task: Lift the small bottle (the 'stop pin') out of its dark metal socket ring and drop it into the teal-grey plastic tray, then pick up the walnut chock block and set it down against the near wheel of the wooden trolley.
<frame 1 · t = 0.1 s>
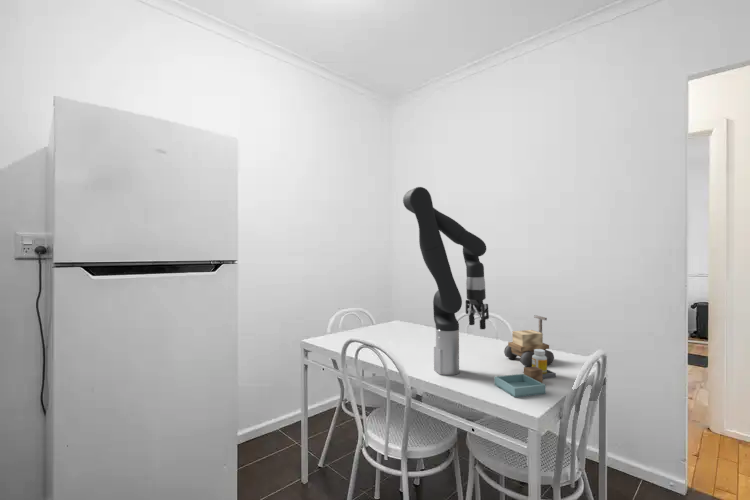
hand: (477, 327, 155), 17 cm above the table, tool pointing down, fingers open, 8 cm apart
supplement bottle: (539, 375, 147), resting in pin socket
chock: (533, 382, 139), on the table
tray: (519, 389, 132), on the table
trolley: (528, 361, 164), on the table
pin socket: (539, 374, 147), on the table
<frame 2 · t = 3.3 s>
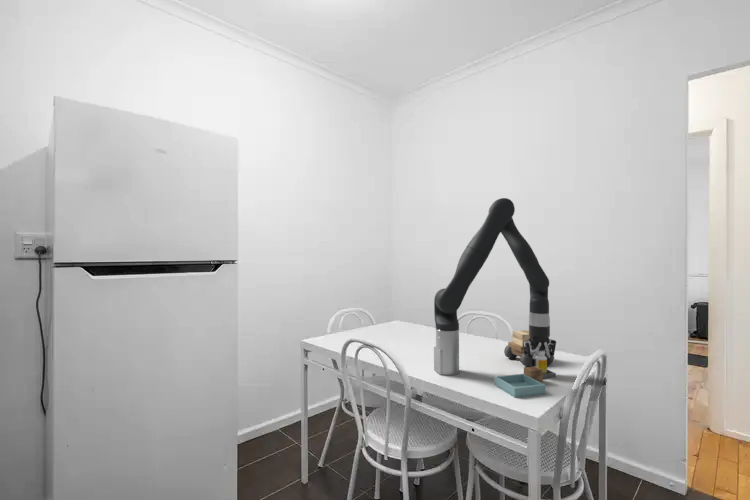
hand: (539, 366, 147), 3 cm above the table, tool pointing down, fingers closed on supplement bottle, 5 cm apart
supplement bottle: (539, 375, 147), resting in pin socket, touching gripper
everything else where it was.
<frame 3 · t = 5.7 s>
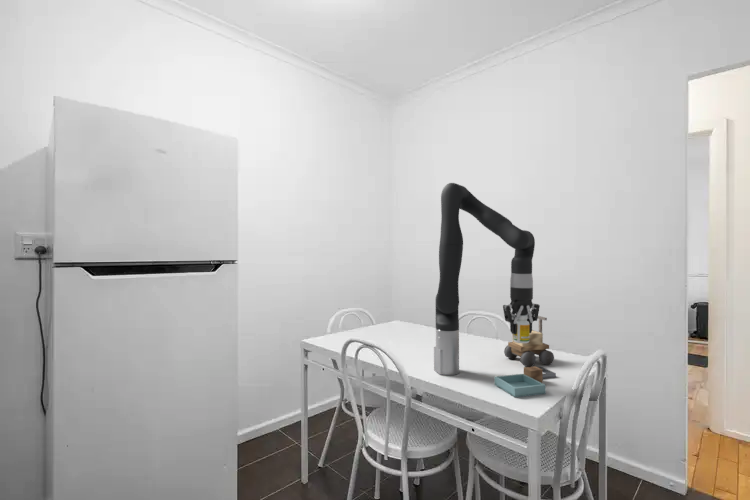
hand: (521, 333, 134), 19 cm above the table, tool pointing down, fingers closed on supplement bottle, 5 cm apart
supplement bottle: (521, 342, 134), point 16 cm above the table, touching gripper
everything else where it was.
when the fingers open (6 cm above the table, at t = 8.5 s): supplement bottle drops 2 cm, resting on tray.
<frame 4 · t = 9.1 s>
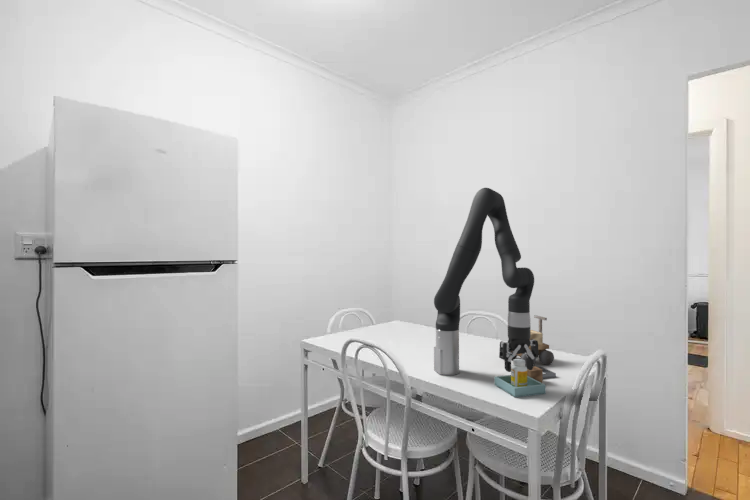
hand: (519, 370, 132), 7 cm above the table, tool pointing down, fingers open, 8 cm apart
supplement bottle: (519, 388, 132), resting on tray
everything else where it was.
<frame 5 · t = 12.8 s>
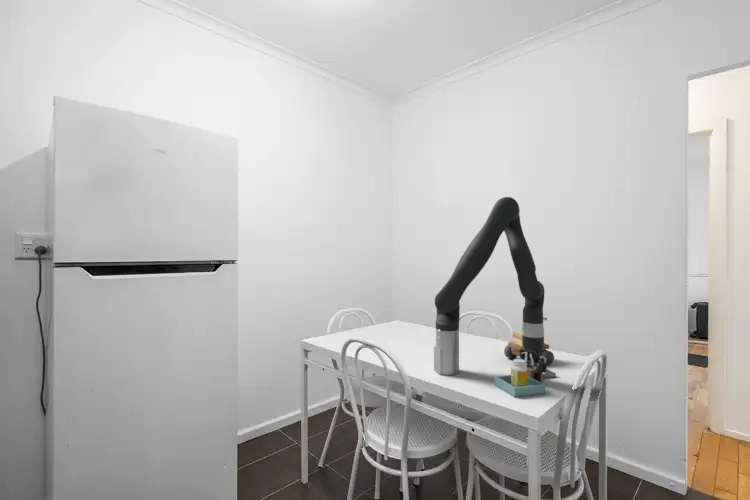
hand: (533, 380, 139), 1 cm above the table, tool pointing down, fingers closed on chock, 4 cm apart
chock: (533, 381, 139), on the table, touching gripper
everything else where it was.
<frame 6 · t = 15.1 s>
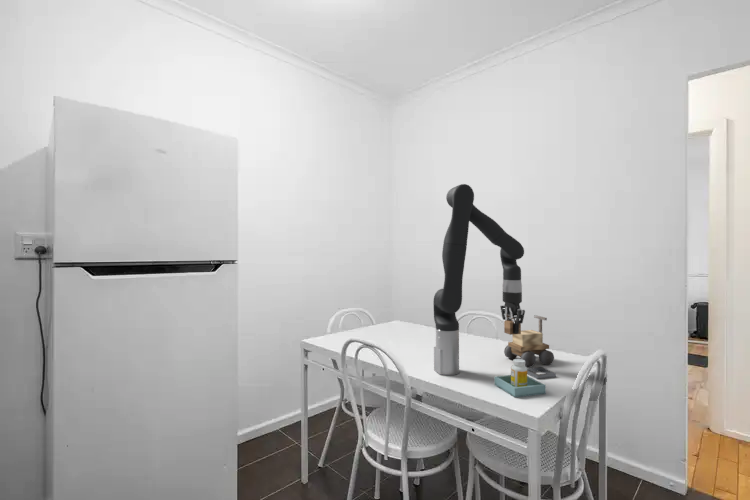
hand: (512, 331, 155), 15 cm above the table, tool pointing down, fingers closed on chock, 4 cm apart
chock: (512, 333, 155), point 14 cm above the table, touching gripper
everything else where it was.
when the fingers open (2 cm above the table, at t = 17.7 s): chock drops 2 cm, on the table.
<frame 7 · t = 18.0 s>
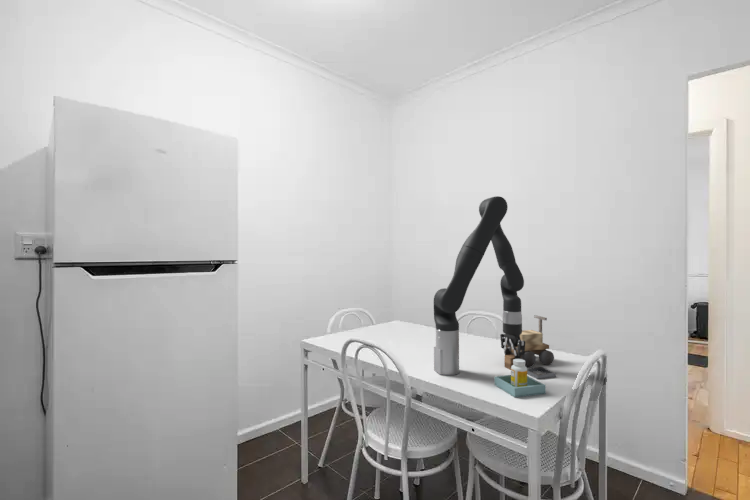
hand: (512, 362, 156), 2 cm above the table, tool pointing down, fingers open, 6 cm apart
chock: (512, 368, 156), on the table
everything else where it was.
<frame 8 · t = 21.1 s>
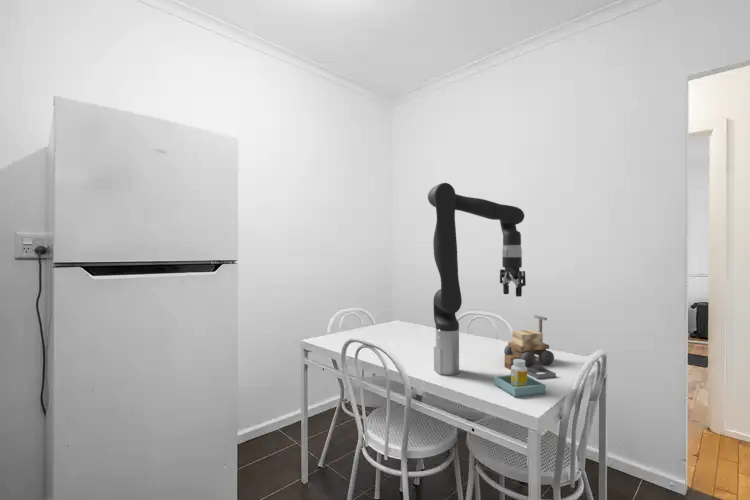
hand: (512, 295, 155), 30 cm above the table, tool pointing down, fingers open, 8 cm apart
nothing on the table moved.
at the end: supplement bottle inside the target area on the tray (0.0 cm from its centre), point 0.4 cm above the tray's base; chock inside the target area (0.2 cm from its centre), on the table; the gripper is holding nothing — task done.
